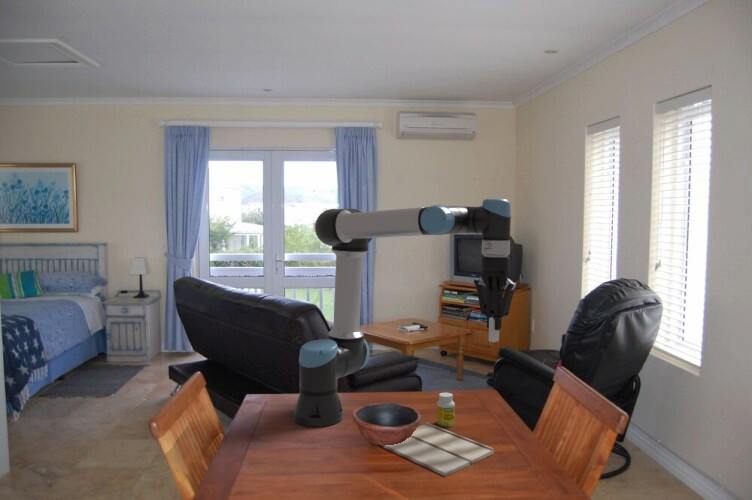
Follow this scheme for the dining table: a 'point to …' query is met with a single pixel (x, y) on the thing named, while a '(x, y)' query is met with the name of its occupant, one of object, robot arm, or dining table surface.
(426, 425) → the plank
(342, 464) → the dining table surface
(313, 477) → the dining table surface
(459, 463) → the laid board
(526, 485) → the dining table surface
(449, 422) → the supplement bottle
